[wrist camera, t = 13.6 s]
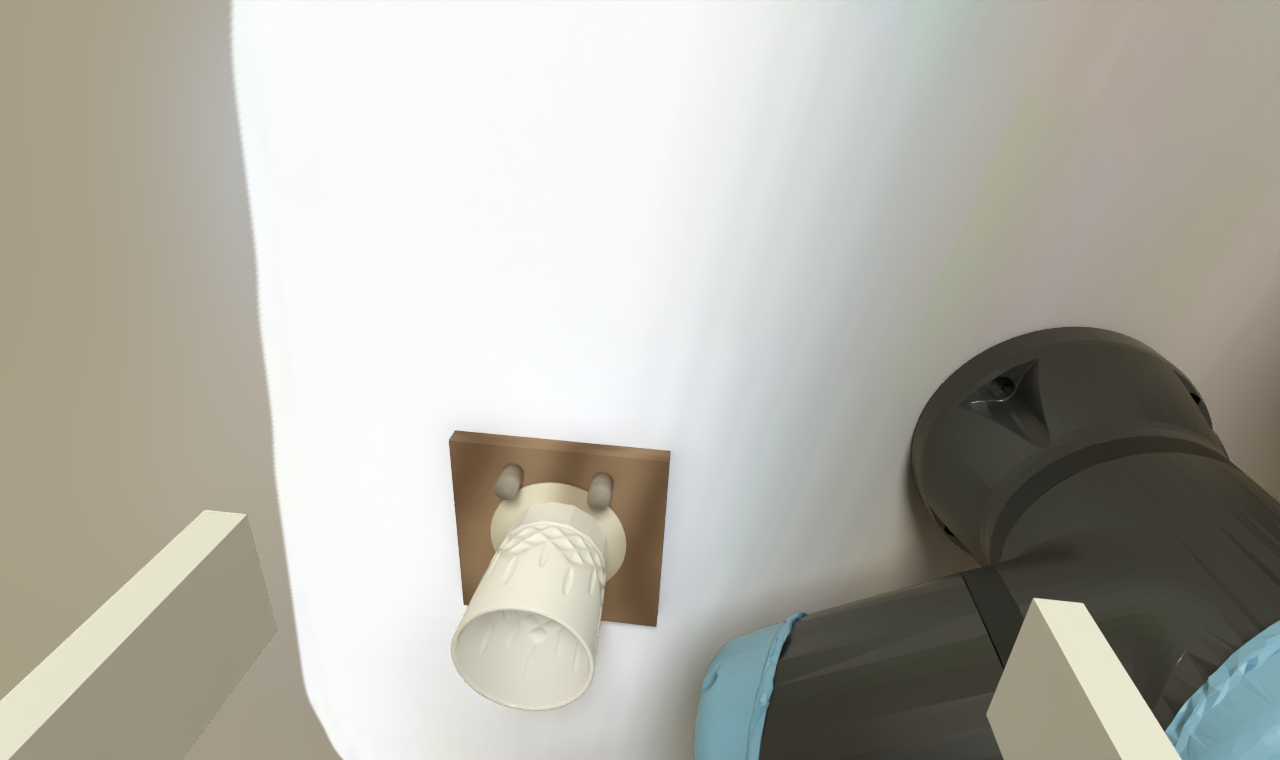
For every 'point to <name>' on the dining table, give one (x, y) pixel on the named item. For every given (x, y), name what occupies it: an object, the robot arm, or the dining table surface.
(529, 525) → the white cup
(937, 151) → the dining table surface
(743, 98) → the dining table surface
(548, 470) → the pin board
